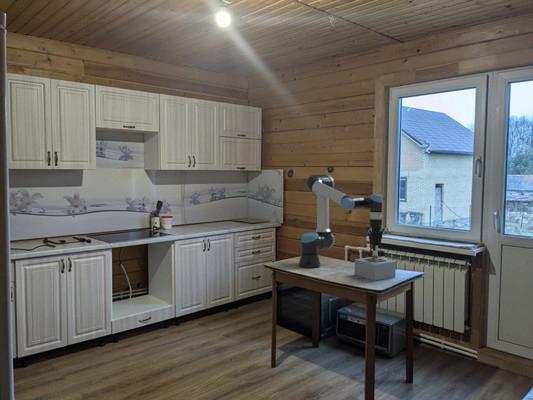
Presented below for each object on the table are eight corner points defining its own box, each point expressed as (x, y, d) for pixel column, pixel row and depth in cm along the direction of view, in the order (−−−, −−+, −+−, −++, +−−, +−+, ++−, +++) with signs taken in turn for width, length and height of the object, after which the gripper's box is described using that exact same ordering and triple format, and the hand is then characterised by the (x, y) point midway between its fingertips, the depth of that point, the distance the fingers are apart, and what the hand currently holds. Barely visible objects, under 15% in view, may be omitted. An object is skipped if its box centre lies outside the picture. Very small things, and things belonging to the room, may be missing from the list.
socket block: (354, 274, 274) (354, 258, 273) (374, 271, 283) (374, 256, 283) (375, 280, 259) (375, 263, 258) (395, 277, 268) (395, 260, 267)
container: (387, 270, 287) (388, 251, 286) (377, 271, 284) (378, 251, 284) (381, 267, 294) (381, 249, 293) (371, 268, 292) (371, 249, 291)
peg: (370, 269, 271) (370, 255, 271) (374, 268, 274) (375, 254, 273) (374, 270, 268) (375, 256, 267) (379, 269, 270) (379, 255, 269)
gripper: (372, 219, 262) (372, 257, 263) (387, 218, 269) (386, 255, 270) (364, 218, 268) (363, 255, 270) (378, 217, 275) (378, 253, 277)
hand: (375, 255), depth 270 cm, fingers closed
